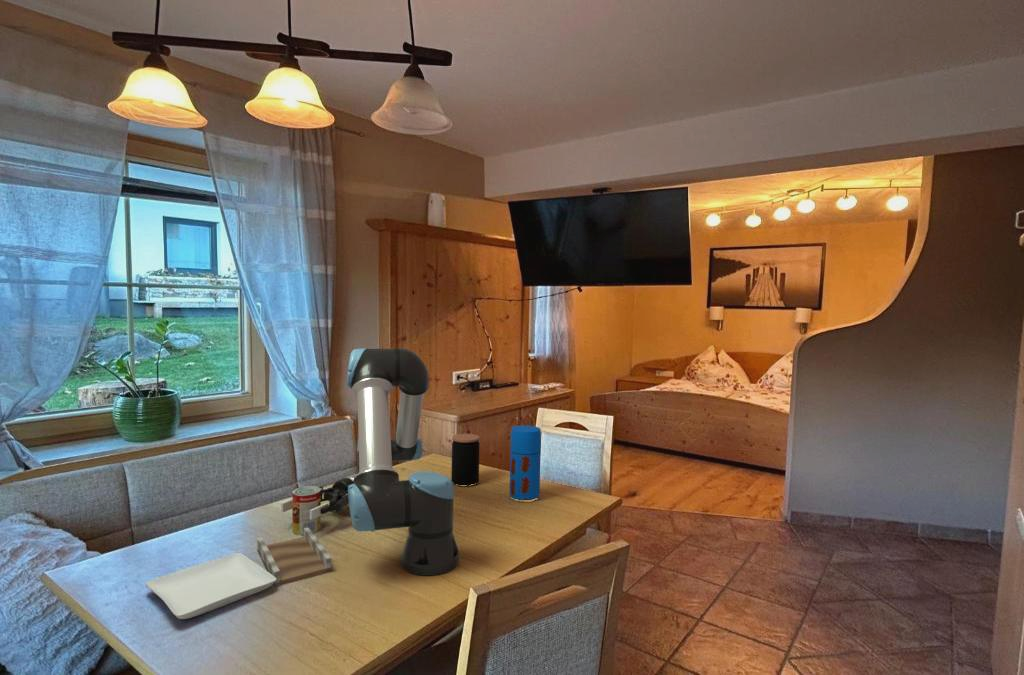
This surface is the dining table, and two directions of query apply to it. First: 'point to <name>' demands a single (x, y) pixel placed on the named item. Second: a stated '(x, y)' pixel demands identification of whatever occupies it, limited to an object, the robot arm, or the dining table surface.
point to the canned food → (305, 509)
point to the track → (294, 558)
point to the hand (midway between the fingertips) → (296, 511)
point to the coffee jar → (465, 459)
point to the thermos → (525, 462)
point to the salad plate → (210, 585)
